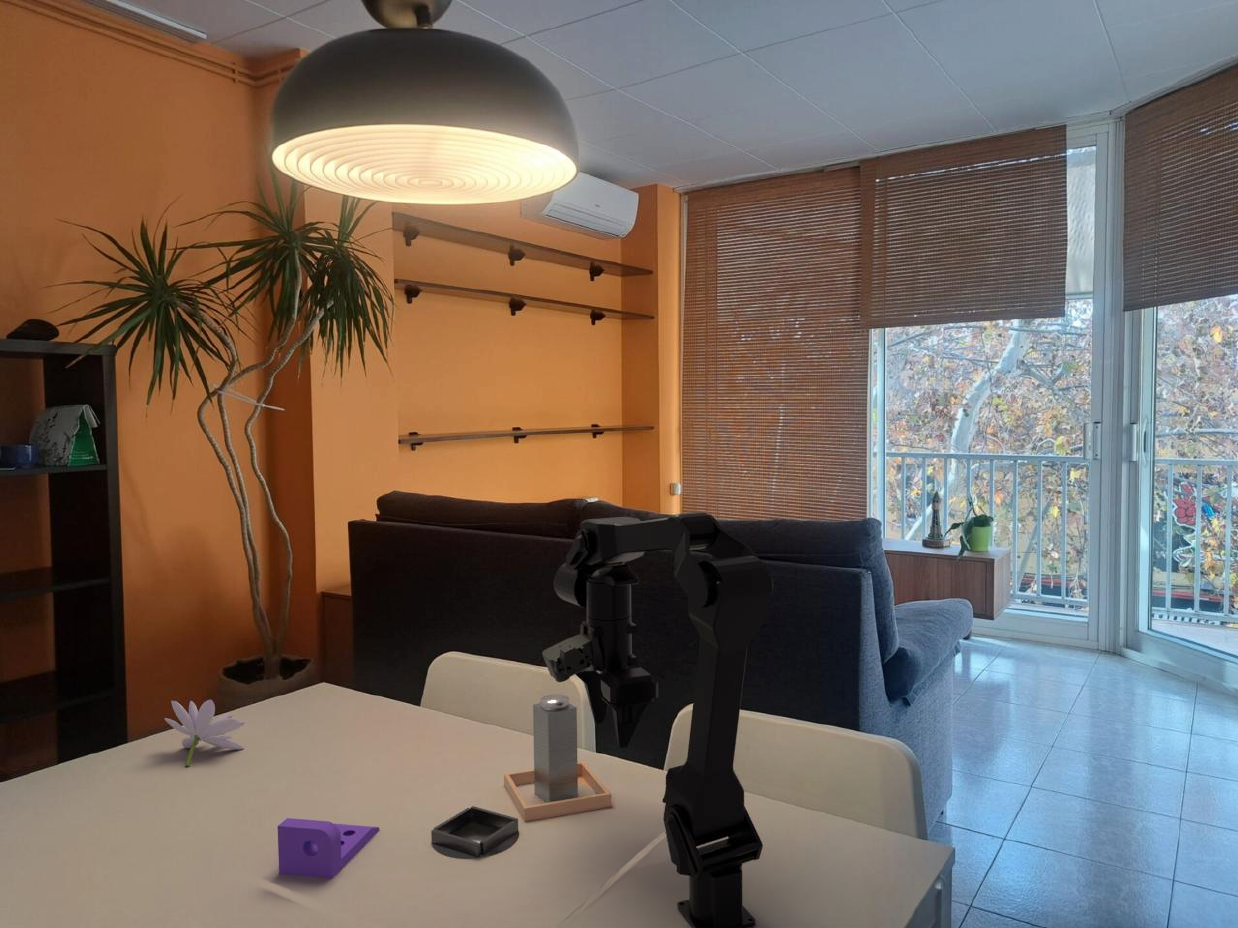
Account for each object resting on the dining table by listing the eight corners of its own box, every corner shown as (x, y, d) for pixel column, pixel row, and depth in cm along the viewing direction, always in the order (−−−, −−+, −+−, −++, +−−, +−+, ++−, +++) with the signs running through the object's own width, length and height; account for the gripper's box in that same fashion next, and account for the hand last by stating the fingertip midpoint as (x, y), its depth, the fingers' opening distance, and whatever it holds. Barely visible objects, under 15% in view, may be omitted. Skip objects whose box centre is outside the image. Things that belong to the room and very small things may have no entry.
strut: (577, 798, 123) (576, 700, 122) (549, 806, 121) (547, 706, 120) (562, 787, 127) (561, 691, 126) (534, 794, 124) (532, 697, 124)
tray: (611, 811, 120) (611, 793, 120) (524, 826, 116) (524, 808, 116) (584, 777, 131) (583, 761, 131) (504, 790, 127) (503, 773, 127)
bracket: (333, 887, 102) (331, 830, 102) (279, 882, 103) (277, 825, 103) (379, 838, 114) (378, 786, 113) (330, 834, 115) (329, 783, 115)
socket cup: (536, 834, 114) (535, 816, 113) (481, 873, 104) (481, 853, 104) (470, 816, 119) (470, 798, 119) (412, 850, 110) (412, 832, 110)
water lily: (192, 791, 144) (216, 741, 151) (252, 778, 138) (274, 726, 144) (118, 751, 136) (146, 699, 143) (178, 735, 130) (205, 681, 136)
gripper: (529, 606, 118) (531, 719, 119) (570, 638, 101) (572, 771, 102) (607, 599, 122) (608, 709, 123) (659, 629, 105) (660, 757, 105)
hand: (610, 734), depth 113 cm, fingers open, 9 cm apart
